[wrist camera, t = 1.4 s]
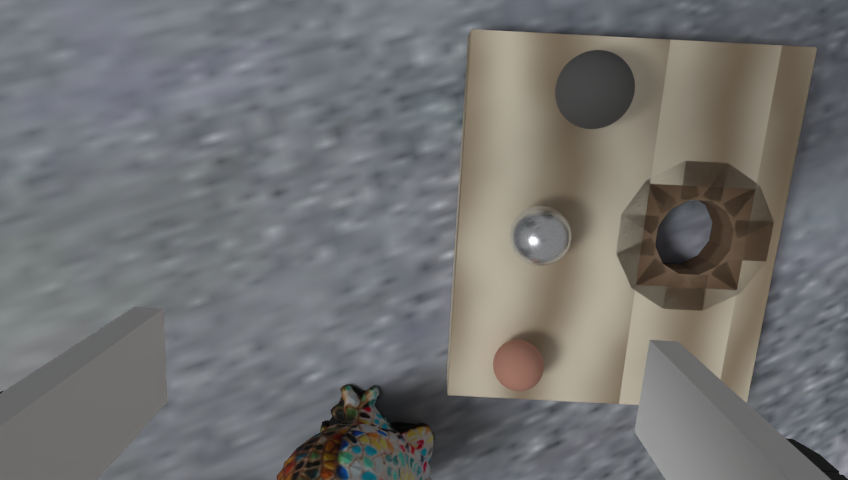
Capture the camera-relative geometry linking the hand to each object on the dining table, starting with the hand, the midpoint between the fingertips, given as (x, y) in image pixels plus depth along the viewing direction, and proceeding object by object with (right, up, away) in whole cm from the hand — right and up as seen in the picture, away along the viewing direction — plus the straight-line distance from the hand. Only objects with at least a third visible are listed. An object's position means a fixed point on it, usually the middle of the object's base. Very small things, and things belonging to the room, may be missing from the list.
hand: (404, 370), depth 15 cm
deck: (+12, +4, +20) cm, 24 cm away
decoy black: (+9, +11, +14) cm, 20 cm away
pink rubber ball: (+6, -4, +18) cm, 19 cm away
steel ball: (+7, +4, +16) cm, 18 cm away
